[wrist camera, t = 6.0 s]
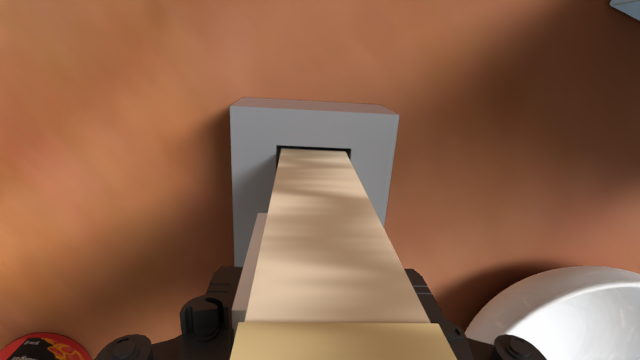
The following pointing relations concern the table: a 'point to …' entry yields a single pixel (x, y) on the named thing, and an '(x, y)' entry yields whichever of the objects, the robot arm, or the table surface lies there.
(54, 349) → the canned food
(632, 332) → the serving bowl
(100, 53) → the table surface
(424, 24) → the table surface
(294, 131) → the grey peg board
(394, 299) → the beech plug
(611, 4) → the gum box
